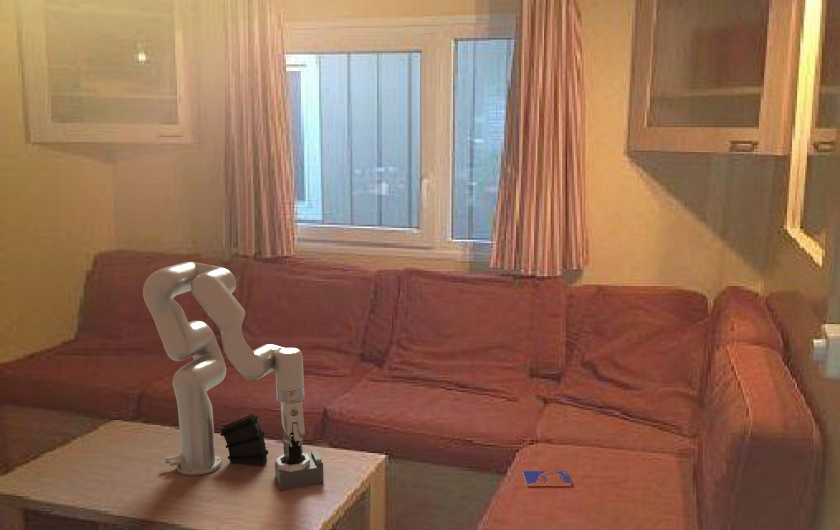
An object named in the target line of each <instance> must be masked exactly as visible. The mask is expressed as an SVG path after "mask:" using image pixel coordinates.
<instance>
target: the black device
mask: <svg viewBox="0 0 840 530" xmlns="http://www.w3.org/2000/svg"><path fill="white" fill-rule="evenodd" d="M258 419H259V417H258V415H257V416H256V415H255V414H254V413H252V414H249V415H247V416H244V417H242V418H240V419H237V420H235V421H232V422H229V423H227V424H226V425H224V426H222V427H221V428H220V432H221V433H220V437H223V438H224V440H225V443H226V445H225V449H227V450H228V453H229V454H228V456H227V460H229V464H236V465H247V466H248V465H249V466H260V467H264V466H265V465H266V463H268V457H267V455H268V454H269V450H268V449H266V447H267V446H266V441H265V439H264V435H265V431H264V430H263V431H262V429H261V426H260V423H259V421H258Z"/></svg>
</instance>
